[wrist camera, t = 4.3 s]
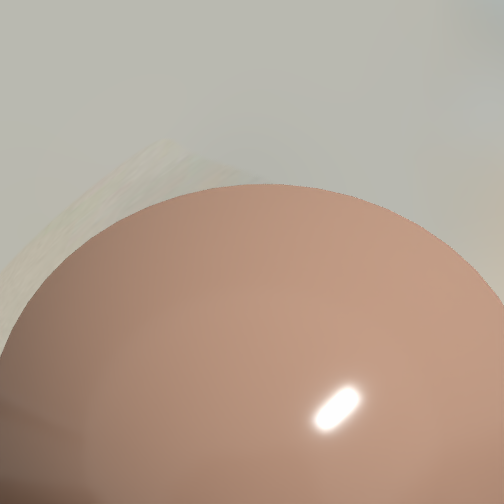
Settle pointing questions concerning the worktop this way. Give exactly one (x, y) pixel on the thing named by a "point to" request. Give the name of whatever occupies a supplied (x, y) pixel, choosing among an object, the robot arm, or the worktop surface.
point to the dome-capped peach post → (256, 361)
